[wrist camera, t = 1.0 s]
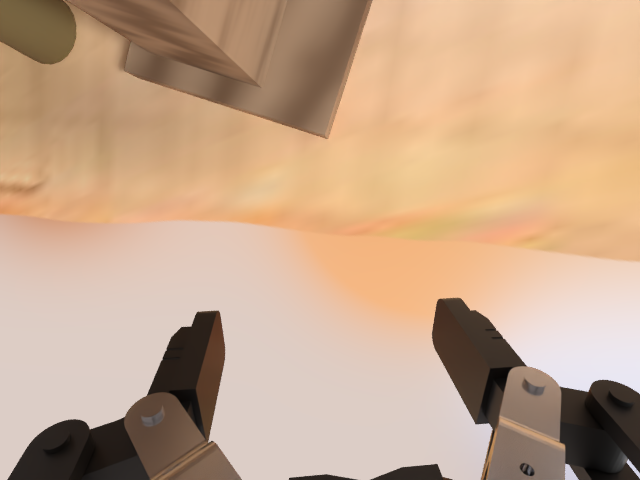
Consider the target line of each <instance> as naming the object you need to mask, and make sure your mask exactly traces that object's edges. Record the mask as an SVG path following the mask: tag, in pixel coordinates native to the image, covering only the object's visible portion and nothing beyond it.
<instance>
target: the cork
mask: <svg viewBox="0 0 640 480" xmlns="http://www.w3.org/2000/svg"><path fill="white" fill-rule="evenodd" d="M75 39H76V23H75V19H74V15H73V13H72V12H71V10H70V8H69V7H68V5H67V4H66V3H65V2H64V1H62V0H0V41H1V42H3V43H5V44H6V45H8V46H10V47H12V48H14V49H15V50H17V51H19V52H21V53H23V54H24V55H26V56H28V57H30V58H32V59H33V60H35V61H38V62H40V63H42V64H54V63H57V62H60V61H61V60H63V59H64V58H65V57H66V56H68V54H69V53H70V51H71V50H72V48H73V46H74V42H75Z"/></svg>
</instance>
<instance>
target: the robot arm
mask: <svg viewBox="0 0 640 480" xmlns="http://www.w3.org/2000/svg"><path fill="white" fill-rule="evenodd" d="M432 339H433V344H434V347H435V350H436V352H437V353H438V355H439V357H440V359H441V361H442V363H443V365H444V366H445V368H446V370H447V372H448V374H449V375H450V377H451V379H452V381H453V383H454V385H455V387H456V388H457V390H458V392H459V394H460V396H461V398H462V400H463V401H464V403H465V405H466V407H467V409H468V411H469V413H470V414H471V416H472V418H473V420H474V422H475V424H486V423H489V424H490V425H491V427H492V429H493V430H492V433H491V437H490V442H489V446H488V451H487V455H486V459H485V464H484V468H483V472H482V477H481V480H565V464H569V465H570V467H571V468H572V470H573V471H574V473H575V474H576V476H577V477H578V479H579V480H640V479H639V477H638V476H637V475H636V474H635V473H634V471H633V470H632V469H631V468H630V466H629V465H628V464H627V463H626V462H627V460H628V459H629V460H630V461H631V462H632V464H633V465H634V466H635V468H636V469H637V470H638V471H639V472H640V394H639V393H637V392H636V391H634V390H633V389H631V388H629V387H627V386H625V385H623V384H620V383H617V382H614V381H609V380H598V381H595V382H593V383H592V385H591V387H590V390H589V392H585V391H580V390H574V389H569V388H563V387H559V385H558V384H557V382H556V381H555V380H554V379H553V378H552V377H550V376H549V375H548V374H546V373H544V372H542V371H540V370H538V369H535V368H532V367H527V366H526V365H525V363H524V362H523V361H522V360H521V359H520V357H519V356H518V355H517V354H516V353H515V351H514V350H513V349H512V348H511V346H510V345H509V344H508V343H507V342H506V340H505V339H503V337H502V335H501V334H500V333H499V332H498V331H496V328H495V327H494V326H493V324H492V323H491V322H490V321H489V320H488V319H487V318H486V317H484V316H483V315H481V314H480V313H479V312H477V311H476V310H474V311H470V309H469V308H468V307H467V306H466V304H465V303H464V302H463V300H462V299H461V298H446V299H439V300H438V301H437V306H436V312H435V318H434V324H433V331H432ZM224 360H225V344H224V337H223V330H222V323H221V317H220V312H219V311H204V312H197V314H196V315H195V318H194V321H193V324H192V327H181V328H180V329H179V330H178V331H177V332H176V333H175V334H174V336H172V337H171V339H170V342H169V345H168V347H167V351H166V352H165V354H164V356H163V360H162V361H161V363H160V366H159V368H158V371H157V373H156V375H155V378H154V380H153V382H152V385H151V387H150V389H149V392H148V394H147V396H146V397H143V398H142V399H140V400H139V401H137V402H136V403H135V404H134V405H133V406H132V407H131V408H130V409H129V410H128V412H127V414H126V416H125V417H124V418H122V419H120V420H117V421H115V422H111V423H109V424H105V425H102V426H100V427H96V428H93V429H89V426H88V425H87V423H85V422H84V421H81V420H76V419H74V420H66V421H62V422H59V423H57V424H55V425H53V426H51V427H49V428H47V429H46V430H44V431H43V432H41V433H40V434H39V435H38V436H37V437H35V438H34V439H33V441H32V442H31V443H30V444H29V446H28V447H27V449H26V450H25V452H24V454H23V455H22V457H21V458H20V460H19V462H18V463H17V465H16V467H15V468H14V470H13V471H12V473H11V475H10V476H9V478H8V480H242V479H241V478H240V476H239V475H238V474H237V472H236V471H235V469H234V468H233V467H232V465H231V464H230V462H229V461H228V459H227V458H226V457H225V455H224V454H223V452H222V451H221V450H220V448H219V447H218V445H217V444H216V443H214V442H213V441H211V442H209V443H208V440H209V435H210V430H211V425H212V420H213V415H214V411H215V405H216V400H217V396H218V391H219V386H220V381H221V376H222V371H223V366H224ZM289 480H356V479H350V478H344V477H338V476H332V475H327V474H326V475H315V476H304V477H294V478H289ZM371 480H452V479H449V478H444V477H442V475H441V472H440V470H439V467H438V465H437V464H434V465H423V466H412V467H402V468H400V469H397V470H394V471H392V472H389V473H387V474H384V475H381V476H379V477H376V478H374V479H371Z"/></svg>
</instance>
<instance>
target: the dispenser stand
mask: <svg viewBox="0 0 640 480" xmlns="http://www.w3.org/2000/svg"><path fill="white" fill-rule="evenodd" d="M67 1H69V2H70V3H72V4H73V5H75V6H77V7H78V8H80V9H81V10H83V11H84V12H86V13H88V14H89V15H91V16H92V17H94V18H96V19H97V20H99V21H100V22H102V23H104V24H105V25H107V26H108V27H110V28H111V29H113V30H115V31H116V32H118V33H119V34H121V35H123V36H124V37H126V38H127V39H129V40H131V42H130V47H129V51H128V56H127V60H126V65H125V69H124V71H125V72H127V73H129V74H132V75H134V76H136V77H138V78H140V79H143V80H146V81H149V82H152V83H155V84H159V85H162V86H165V87H168V88H171V89H174V90H177V91H180V92H183V93H187V94H190V95H193V96H196V97H199V98H202V99H205V100H208V101H211V102H214V103H218V104H221V105H224V106H227V107H230V108H233V109H236V110H239V111H242V112H245V113H249V114H252V115H255V116H258V117H261V118H264V119H267V120H270V121H273V122H277V123H280V124H283V125H286V126H289V127H292V128H295V129H298V130H301V131H304V132H308V133H311V134H314V135H317V136H320V137H323V138H326V139H328V137H329V134H330V131H331V128H332V125H333V121H334V118H335V115H336V112H337V109H338V106H339V103H340V100H341V97H342V93H343V90H344V87H345V84H346V81H347V78H348V75H349V72H350V69H351V65H352V62H353V59H354V56H355V53H356V50H357V47H358V44H359V41H360V37H361V34H362V31H363V28H364V25H365V22H366V19H367V16H368V13H369V9H370V6H371V3H372V0H67Z"/></svg>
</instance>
